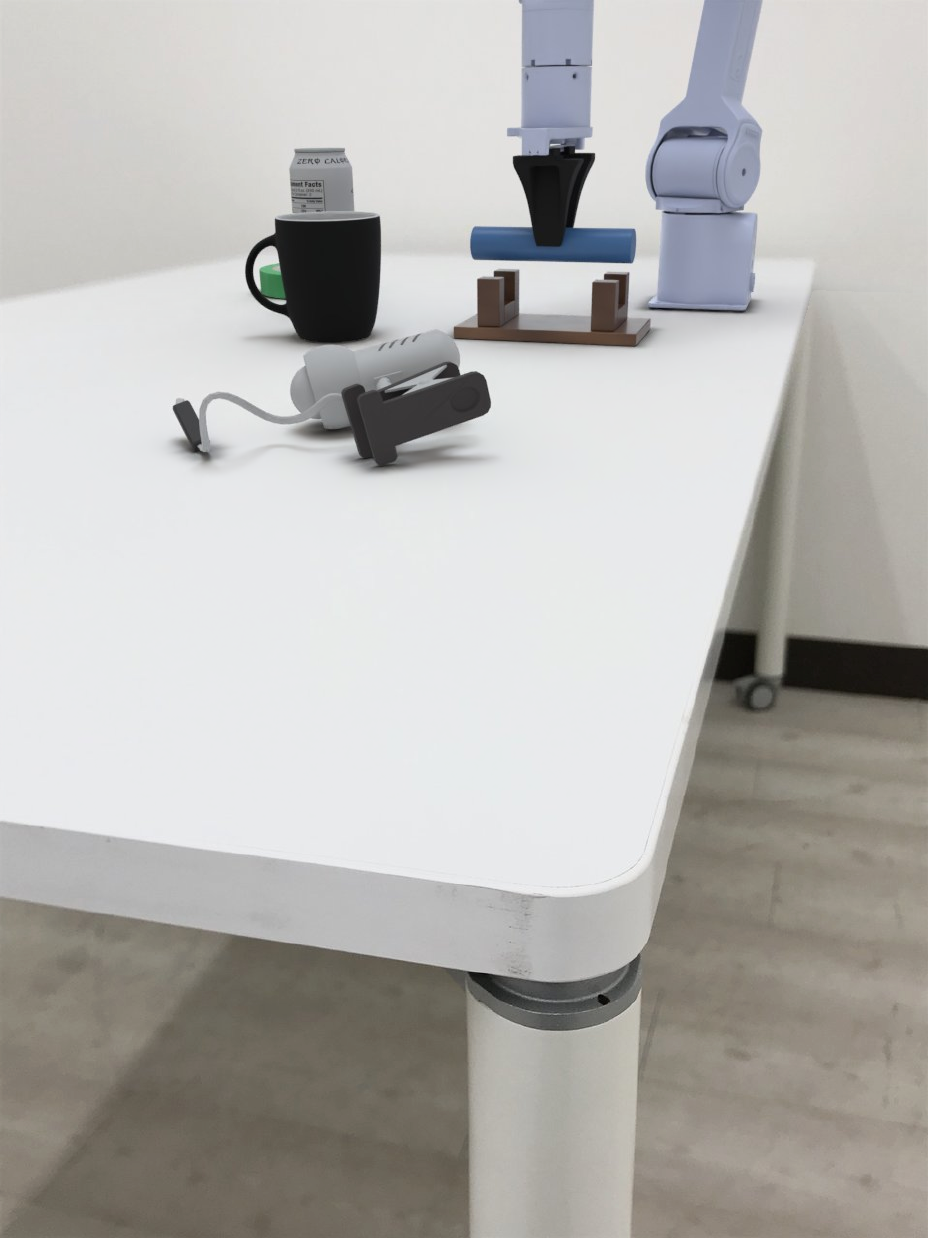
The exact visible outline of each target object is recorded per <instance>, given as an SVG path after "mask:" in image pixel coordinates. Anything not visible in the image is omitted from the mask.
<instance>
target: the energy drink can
mask: <svg viewBox="0 0 928 1238" xmlns="http://www.w3.org/2000/svg"><path fill="white" fill-rule="evenodd" d="M293 151H294V156H293V158H292V161H291V163H290V166H289V168H288V170H289V182H290V184H289V185H290V198H291V199H290V200H291V211H292V212H291V214H293V213H306V212H330V211H354V212H355V198H354V197H355V196H354V195H355V194H354V178H353V176H354V175H353V166H352V164H351V162H350V160H349V159H348V156H347V155H346V153H345V151H346V148H345V147H304V148H303V147H301V148H294V150H293Z"/></svg>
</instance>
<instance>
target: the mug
mask: <svg viewBox="0 0 928 1238" xmlns="http://www.w3.org/2000/svg"><path fill="white" fill-rule="evenodd" d="M380 215H381V214H379V213H378V212H377V213H376V212H370V211H355V210H354V211H330V212H306V213H286V214H280V215H276V216H275V217H274V230H275V231H274V233H273V234H271V235H268V236H266V237H265V238H262V239H261V240H259V242H257V243H255V245H253V247H252V249H250V251H249V254H248V255H247V257H246V260H245V268H244V275H245V281H246V285H247V287H248V290H249V292H250V294H251V295H252V296H253V298H254V300H256V301H257V302H258V303H259V304H260V305H261V306H262V307H263V308H265V309H267V310H269V311H271V312H274V313H277V314H280V315H283V316H285V317H287V319H288V318H289V320H290V322H291V324H292V326H293V329H294V331H295V332H296V334H297V335H298V338H300V339H301V340H303V341H306V342H310V343H321V344H335V343H337V344H339V343H349V342H356V341H360V340H364V339H366V338H368V337H370V336H371V334H372V332H373V330H374V327H375V323H376V319H377V315H378V309H379V298H380V288H381V272H382V271H381V270H382V269H381V267H382V225H381V216H380ZM268 247H274V249H275V250H276V252H277V257H278V263H279V264H280V271H281V276H282V282H283V288H284V293H285V298H286V299H285V303H284V304H279V303H276V302H273V301H271V300H270V299H268V298H267V296H265V295H263V294H262V293H261V290H260V289H259V288H258V285H257V283H256V279H255V275H254V267H255V262H256V259H257V257H258V256H259V255H260V253H261V252H262V251H263V250H265V249H266V248H268Z"/></svg>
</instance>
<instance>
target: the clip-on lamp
mask: <svg viewBox="0 0 928 1238" xmlns="http://www.w3.org/2000/svg"><path fill="white" fill-rule="evenodd" d="M302 359H303V362H304V366H303V367H301V368H300V369H298V370H297V371H296V373H295V374H294V376H293V377H292V380H291V382H290V388H289V392H290V399H291V401H292V402H291V403H292V404H293V406H294V407H295V409H296V410H297V411H298V412H299V413H298V414H293V415H287V416H285V415H284V416H281V415H275V414H273V413H270V412H267V411H265V410H263V409H261V408H259V407H257V405H255V404H252V403H251V402H249V401H247V400H245V399H244V398H242V397H240V396H238V395H236V394H232V393H230V392H225V391H215V392H211V393H209V394H207V395H206V396H205V397H204V398H203V399H202V401H201V404H200V406H199V410H198V411H199V413H198V414H197V413H196V410H195V409H194V406H193V405H192V403H191V402H190V400H187V399H184V398H182V397H181V398H180V397H177V398H176V399H175V404H173V405H172V411H173V413H174V415H175V417H176V420H177V421H178V424H179V425H180V427H181V429H182V432H183V434H184V435H185V437H186V439H187V441H188V443H189V445H190V447H191V449H192V450H193V451H194V452H195V451H200V452H202V453H209V452H211V451H212V449H211V440H210V438H209V437H210V436H209V431H208V425H207V410H208V406H209V404H210V403H212V401H214V400H218V399H219V400H220V399H221V400H225V401H228V402H231V403H233V404H235V405H237V406H239V407H241V408H242V409H244V410H246V411H247V412H249V413H251V414H252V415H254V416H256V417H258V418H260V419H262V420H264V421H266V422H270V423H272V424H277V425H295V424H299V423H300V424H301V423H303V422H306V421H308V420H310V419H312V420H321V422H322V425H323V428H324V429H325V430H340V429H345V428H348V427H350V429H351V433H352V436H353V440H354V442H355V447H356V449H357V453H358V455H359V456H360V457H361V458H363V459H369V458H371V457H373V460H374V463H376V465H378V466H379V467H384V466H386V465H389V464H392V463H394V462H396V461H397V459H398V452H397V448H396V447H397V446H400V445H404V444H406V443H410V442H412V441H414V440H417V439H422V438H423V437H426V436H428V435H432V434H435V433H437V432H440V431H444V430H447V429H449V428H451V427H456V426H458V425H461V424H464V423H466V422H470V421H472V420H475V419H479V418H480V417H484V416H485V415H486V414H488V413H489V412H490V409H491V408H492V399H491V395H490V391H489V386H488V381H487V379H486V377H485V375H484V374H482V373H481V372H479V371H476V370H474V371H473V370H472V371H468V372H465V373H463V374H461V371H460V366H461V354H460V350H459V347H458V345H457V343H456V341H455V340H454V339H453V338H452V337H451V336H450V335H449V334H448V333H446V332H444V331H442V330H440V329H432V330H428V331H423V332H421V333H417V334H413V335H409V336H406V337H401V338H398V339H394V340H391V341H388V342H383V343H380V344H379V343H378V344H375V345H372V346H369V347H364V348H360V349H356V350H352V349H351V348H349V347H347V346H342V345H339V344H324V345H319V346H317V347H313V348H312V349H310V350H308V351H307V352H306V353H304V354H303V355H302Z"/></svg>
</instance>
